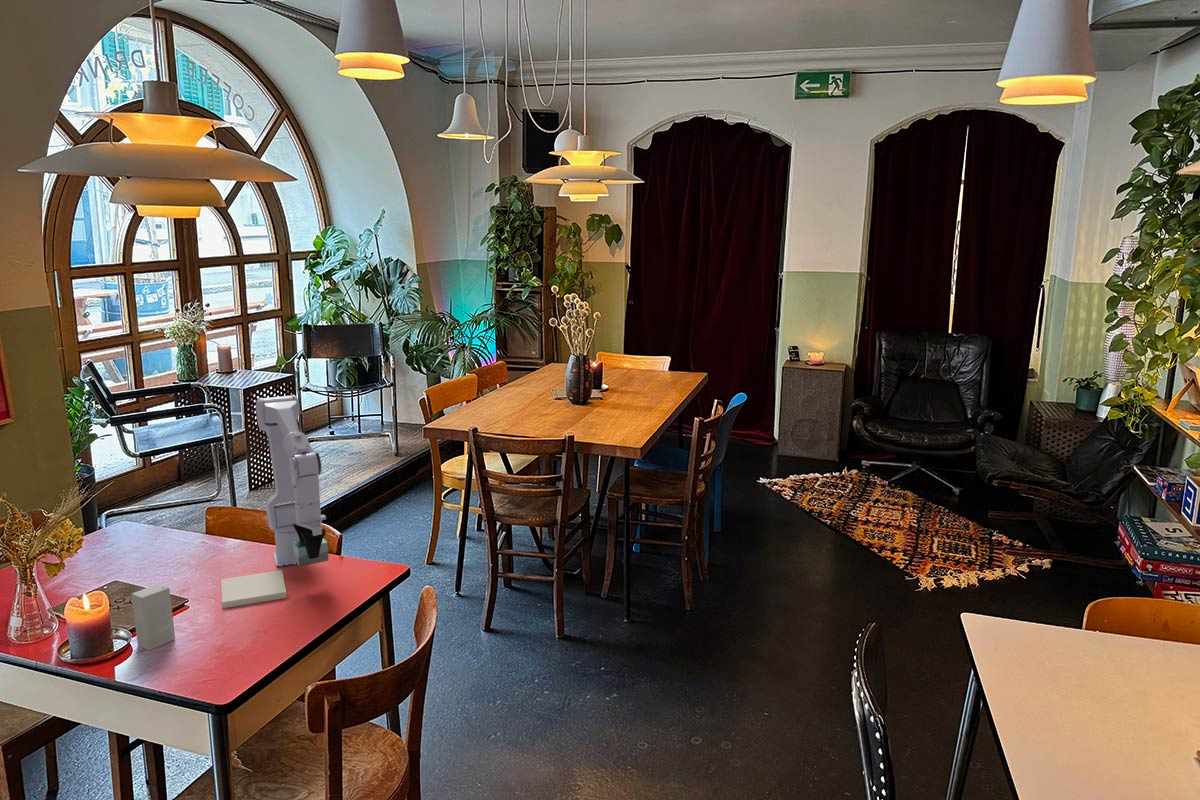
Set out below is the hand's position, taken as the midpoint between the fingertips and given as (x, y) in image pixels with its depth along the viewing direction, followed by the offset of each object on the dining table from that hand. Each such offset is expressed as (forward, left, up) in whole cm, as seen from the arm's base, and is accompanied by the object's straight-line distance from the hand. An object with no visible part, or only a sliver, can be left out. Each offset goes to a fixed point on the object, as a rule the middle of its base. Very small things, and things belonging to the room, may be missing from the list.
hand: (310, 554), depth 200 cm
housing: (0, 0, -2) cm, 2 cm away
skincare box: (+16, -33, -9) cm, 38 cm away
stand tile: (-3, -13, -8) cm, 16 cm away
